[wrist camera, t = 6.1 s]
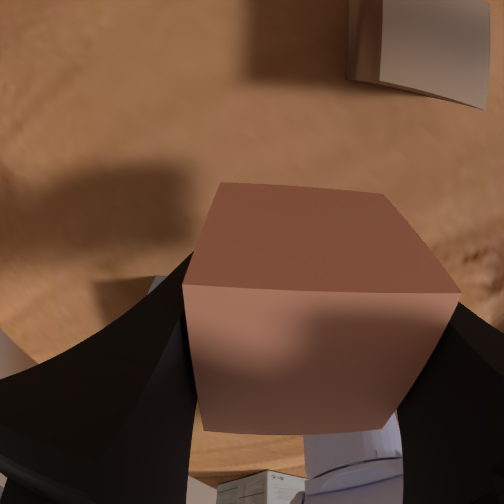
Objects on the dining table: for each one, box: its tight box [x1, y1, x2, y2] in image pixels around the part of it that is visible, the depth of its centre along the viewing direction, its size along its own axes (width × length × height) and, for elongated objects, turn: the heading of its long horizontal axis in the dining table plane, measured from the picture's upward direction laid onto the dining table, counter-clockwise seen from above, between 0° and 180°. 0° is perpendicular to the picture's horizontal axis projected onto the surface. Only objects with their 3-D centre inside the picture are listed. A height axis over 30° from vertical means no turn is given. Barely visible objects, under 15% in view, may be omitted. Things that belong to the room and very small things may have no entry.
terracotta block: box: [182, 183, 462, 435], centre depth 8 cm, size 5×5×5 cm
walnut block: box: [345, 0, 490, 110], centre depth 10 cm, size 5×5×5 cm
